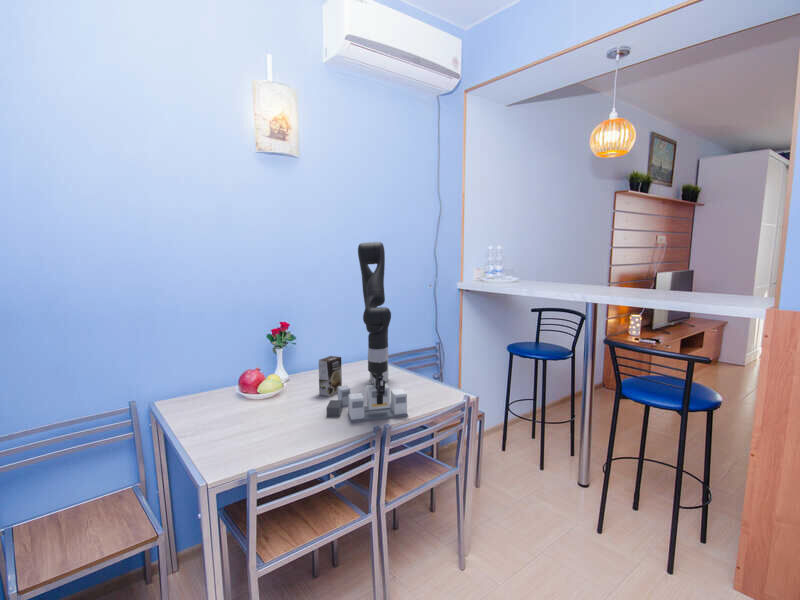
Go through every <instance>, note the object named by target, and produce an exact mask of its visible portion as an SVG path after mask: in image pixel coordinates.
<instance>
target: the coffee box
mask: <svg viewBox="0 0 800 600" xmlns="http://www.w3.org/2000/svg"><path fill="white" fill-rule="evenodd" d="M342 374H343V373H342V357H341V356H335V355H334V356H333V355H330V356H327V357H324V358H321V359H318V389H319V390H318V394H319V395H321V396H325V397H333V396H334V395H336V394H338V387H339V386H343V379H342V378H343V376H342Z"/></svg>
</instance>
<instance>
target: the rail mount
mask: <svg viewBox="0 0 800 600" xmlns="http://www.w3.org/2000/svg"><path fill="white" fill-rule="evenodd" d="M347 411H348V412H347V413H348V414H347V415H348V417H349V419H350V420H349V421H350V422H351V423H352V424H354V423H355V424H356V423H362V422H369V421H379V420H380V421H381V420H387V419H389V420H390V419H395V418H397V419H398V418H404V417H408V415H409V414H408V393H407V392H406V391H405V390H404V388H397V389H390V407H389V408H380V409H371V410H369V408H368V406H367V404H365V397H364V395H363V394H362V392H358V393H357V392H356V393H350V394H349V405H348V406H347Z"/></svg>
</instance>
